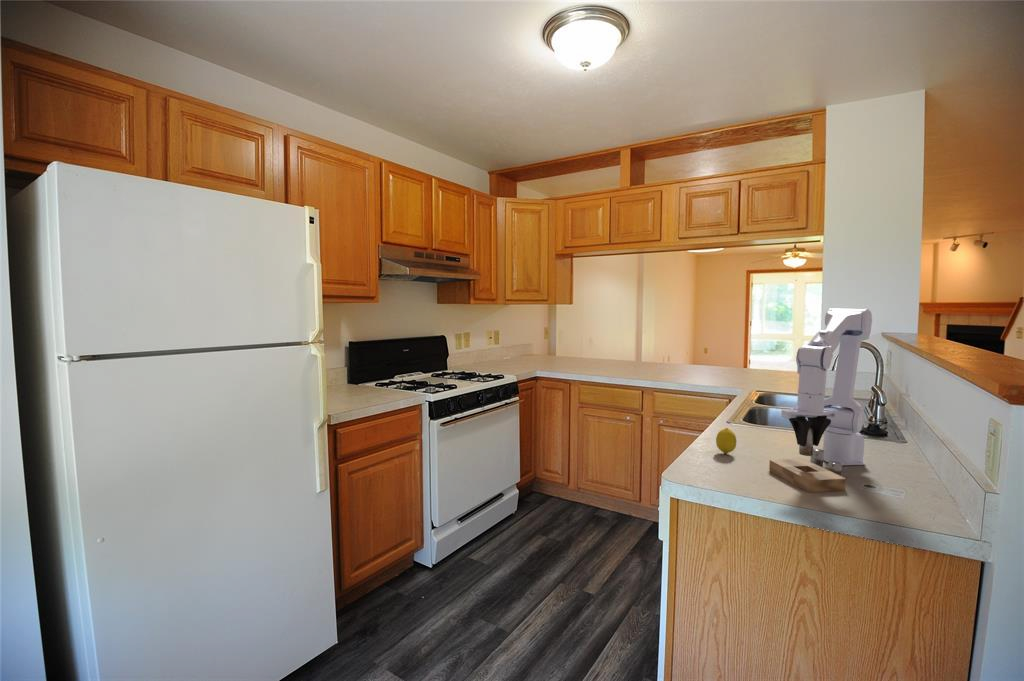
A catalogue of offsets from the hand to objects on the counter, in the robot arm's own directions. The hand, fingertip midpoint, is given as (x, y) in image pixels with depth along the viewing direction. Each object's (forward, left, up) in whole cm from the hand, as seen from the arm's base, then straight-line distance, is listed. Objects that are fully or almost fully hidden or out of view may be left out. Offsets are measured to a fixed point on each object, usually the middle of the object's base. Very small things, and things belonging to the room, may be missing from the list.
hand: (807, 444), depth 118 cm
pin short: (-10, -2, -9) cm, 14 cm away
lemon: (+9, -21, -10) cm, 25 cm away
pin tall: (0, 0, -3) cm, 3 cm away
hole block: (0, 0, -9) cm, 9 cm away
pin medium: (-10, -8, -9) cm, 16 cm away
